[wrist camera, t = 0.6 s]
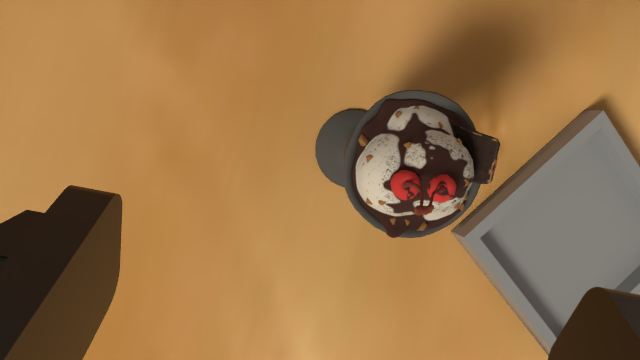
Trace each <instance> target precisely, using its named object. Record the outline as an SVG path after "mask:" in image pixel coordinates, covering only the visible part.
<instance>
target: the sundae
mask: <svg viewBox="0 0 640 360" xmlns="http://www.w3.org/2000/svg"><path fill="white" fill-rule="evenodd" d="M499 147H500V143H499V141H498V139H496V138H494V137H491V136H488V135H485V134H482V133H479V132H477V131H476V129H475V127H474V124H473V122H472V121H471V119H470V118H469V116H468V115H467V113H466V112H465V111H464V110H463V109H462V108H461V107H460V106H459V104H457V103H455V102H454V101H452V100H450V99H449V98H447V97H445V96H442V95H440V94H438V93H435V92H429V91H422V90H406V91H400V92H395V93H393V94H390V95H388V96H385V97H384V98H382V99H381V100H379V101H378V102H376V103H375V104H374V105H373V106H372V107H371V108H370V109H369V110H368V111H367V112H366V111H364V110H356V109H353V110H345V111H342V112H340V113H338V114H335V115H334V116H332V117H331V118H330V119H329V120H328V121H327V122H326V123H325V124H324V125H323V127H322V128H321V130H320V132H319V135H318V138H317V140H316V158H317V161H318V164H319V167H320V169H321V171H322V172H323V173H324V174H325V176H326V177H327V178H328V179H329V180H331V181H332V182H334V183H335V184H337V185H340V186H343V187H345V189H346V192H347V195H348V198H349V199H350V201H351V203H352V204H353V206H354V208H355V209H356V210H357V211H358V212H359V213H360V214H361V215H362V217H363V218H365V219H366V220H367V221H368V222H369V223H370V224H372V225H373V226H374V227H376V228H378V229H380V230H382V231H384V232H386V234H387V235H388V236H390V237H392V238H396V237H405V238H415V237H423V236H426V235H429V234H432V233H434V232H436V231H439V230H441V229H443V228H445V227H446V226H448V225H450V224H452V223H453V222H454V221H455V220H456V219H458V218H459V217H460V216H461V215H462V214H463V213H464V212H465V211H466V210H467V209H468V208H469V207H470V206H471V204H472V202H473V200H474V198H475V197H476V195H477V193H478V190H479V187H480V184H488V183H491V181H492V179H493V175H494V171H495V168H496V163H497V154H498V151H499Z"/></svg>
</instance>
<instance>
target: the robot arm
mask: <svg viewBox="0 0 640 360" xmlns="http://www.w3.org/2000/svg"><path fill="white" fill-rule="evenodd" d="M121 224H122V199H121V196H120V195H119V194H115V193H110V192H104V191H99V190H94V189H89V188H84V187H78V186H73V185H71V186H68V187H67V188H66V189H65V190H64V191H63V192H62V193H61V195H60V196H59V197H58V198H57V199H56V200H55V202H54V203H53V204H52V205H51V206H50V208H49V209H48V210H47V211H46V212H45V213H41V212H36V211H30V210H26V211H24V212H22V213H20V214H18V215H16V216H14V217H12V218H10V219H9V220H7V221H5V222H3V223H1V224H0V360H82V359H83V357H84V356H85V354H86V352H87V350H88V348H89V346H90V344H91V342H92V340H93V338H94V336H95V334H96V332H97V330H98V328H99V326H100V324H101V322H102V320H103V318H104V316H105V314H106V312H107V310H108V309H109V306H110V304H111V302H112V299H113V296H114V293H115V290H116V286H117V282H118V277H119V271H120V250H121ZM548 360H640V295H638V294H633V293H628V292H623V291H617V290H612V289H607V288H602V287H593V288H591V289H589V290H588V291H587V292H586V293H585V294H584V296H583V297H582V299H581V300H580V302H579V304H578V305H577V307H576V308H575V310H574V312H573V313H572V315H571V317H570V318H569V320H568V321H567V323H566V325H565V326H564V328H563V329H562V331H561V333H560V334H559V336H558V338H557V339H556V341H555V342H554V344H553V346H552V348H551V350H550V353H549V357H548Z"/></svg>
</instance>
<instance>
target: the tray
mask: <svg viewBox="0 0 640 360" xmlns="http://www.w3.org/2000/svg"><path fill="white" fill-rule="evenodd" d="M451 232H452V233H453V234H454V236H455V237H456V238H457V239H458V241H459V242H460V243H461V245H462V246H463V247H464V248H465V250H466V251H467V252H468V254H469V255H470V256H471V257H472V259H473V260H474V261H475V262H476V264H477V265H478V266H479V268H480V269H481V270H482V271H483V273H484V274H485V275H486V276H487V278H488V279H489V280H490V282H491V283H492V284H493V285H494V287H495V288H496V289H497V290H498V292H499V293H500V294H501V296H502V297H503V298H504V299H505V301H506V302H507V303H508V304H509V306H510V307H511V308H512V310H513V311H514V312H515V313H516V315H517V316H518V317H519V319H520V320H521V321H522V322H523V324H524V325H525V326H526V327H527V329H528V330H529V331H530V333H531V334H532V335H533V336H534V338H535V339H536V340H537V341H538V343H539V344H540V345H541V347H542V348H543V349H544V350H545V352H546V353H547V354H548V355H549V353H550V350H551V348H552V346H553V344H554V342H555V341H556V339H557V338H558V336H559V334H560V333H561V331H562V329H563V328H564V326H565V325H566V323H567V321H568V320H569V318H570V317H571V315H572V313H573V312H574V310H575V308H576V307H577V305H578V304H579V302H580V300H581V299H582V297H583V296H584V294H585V293H586V292H587V291H588V290H589V289H591V288H593V287H602V288H607V289H612V290H617V291H623V292H628V293H633V294H638V295H640V166H639V165H638V163H637V162H636V160H635V159H634V157H633V156H632V154H631V152H630V151H629V149H628V148H627V146H626V145H625V143H624V142H623V140H622V138H621V137H620V135H619V134H618V132H617V131H616V129H615V128H614V126H613V124H612V123H611V121H610V120H609V118H608V117H607V115H606V113H605V112H604V110H584V111H583V112H582V113H581V114H580V115H579V116H577V117H576V118H575V119H574V120H573V121H572V122H571V123H570V124H569V125H568V126H566V127H565V128H564V129H563V130H562V131H561V132H560V133H559V134H558V135H557V136H555V137H554V138H553V139H552V140H551V141H550V142H549V143H548V144H547V145H546V146H544V147H543V148H542V149H541V150H540V151H539V152H538V153H537V154H536V155H535V156H533V157H532V158H531V159H530V160H529V161H528V162H527V163H526V164H525V165H524V166H522V167H521V168H520V169H519V170H518V171H517V172H516V173H515V174H514V175H513V176H511V177H510V178H509V179H508V180H507V181H506V182H505V183H504V184H503V185H502V186H500V187H499V188H498V189H497V190H496V191H495V192H494V193H493V194H492V195H491V196H489V197H488V198H487V199H486V200H485V201H484V202H483V203H482V204H481V205H480V206H478V207H477V208H476V209H475V210H474V211H473V212H472V213H471V214H470V215H469V216H467V217H466V218H465V219H464V220H463V221H462V222H461V223H460V224H459V225H457V226H456V227H455V228H454V229H453V230H452V231H451Z"/></svg>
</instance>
